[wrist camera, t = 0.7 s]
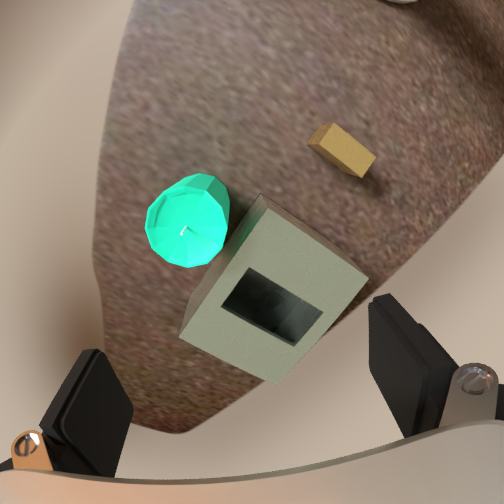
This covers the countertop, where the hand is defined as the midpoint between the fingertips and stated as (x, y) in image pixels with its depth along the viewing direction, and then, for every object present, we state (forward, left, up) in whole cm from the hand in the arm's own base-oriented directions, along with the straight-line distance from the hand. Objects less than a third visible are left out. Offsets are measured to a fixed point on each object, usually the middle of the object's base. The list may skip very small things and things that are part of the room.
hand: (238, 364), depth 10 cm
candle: (+1, -4, -24) cm, 24 cm away
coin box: (+4, +6, -24) cm, 25 cm away
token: (-11, +4, -24) cm, 27 cm away
